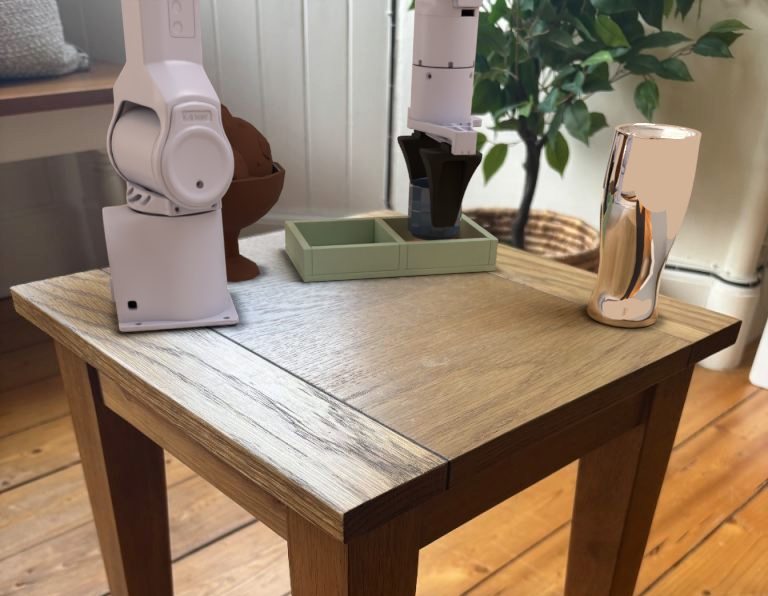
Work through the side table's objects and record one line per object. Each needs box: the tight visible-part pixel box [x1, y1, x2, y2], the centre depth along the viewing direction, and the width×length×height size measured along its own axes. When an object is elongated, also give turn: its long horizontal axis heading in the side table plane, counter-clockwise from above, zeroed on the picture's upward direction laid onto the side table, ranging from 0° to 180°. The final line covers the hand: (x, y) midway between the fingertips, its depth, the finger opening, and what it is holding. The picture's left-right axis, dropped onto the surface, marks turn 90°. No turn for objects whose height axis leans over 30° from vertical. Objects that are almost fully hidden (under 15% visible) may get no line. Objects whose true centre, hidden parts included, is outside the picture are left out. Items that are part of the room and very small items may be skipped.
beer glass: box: [586, 122, 703, 329], centre depth 67 cm, size 7×7×15 cm
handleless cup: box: [407, 177, 464, 241], centre depth 81 cm, size 5×5×5 cm
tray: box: [284, 212, 499, 283], centre depth 82 cm, size 19×10×3 cm, turn 106°
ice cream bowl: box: [220, 102, 286, 283], centre depth 74 cm, size 11×11×15 cm
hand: (434, 218), depth 82 cm, fingers closed on handleless cup, 5 cm apart
